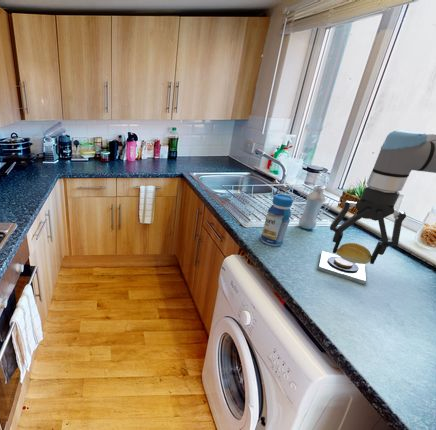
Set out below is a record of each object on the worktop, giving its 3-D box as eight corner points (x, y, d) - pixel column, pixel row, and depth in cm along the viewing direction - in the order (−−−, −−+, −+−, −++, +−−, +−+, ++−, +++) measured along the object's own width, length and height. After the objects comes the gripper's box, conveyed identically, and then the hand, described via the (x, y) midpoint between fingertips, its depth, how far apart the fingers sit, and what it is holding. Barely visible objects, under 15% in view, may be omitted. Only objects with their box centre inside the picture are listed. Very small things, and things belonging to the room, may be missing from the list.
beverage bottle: (285, 247, 115) (300, 201, 107) (263, 245, 116) (276, 199, 108) (278, 237, 123) (291, 193, 114) (257, 235, 124) (268, 192, 115)
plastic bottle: (300, 223, 136) (313, 183, 127) (316, 228, 131) (331, 187, 122) (294, 227, 132) (308, 186, 123) (311, 232, 127) (326, 190, 119)
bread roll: (332, 256, 90) (336, 245, 88) (341, 247, 95) (346, 237, 93) (364, 269, 84) (370, 257, 82) (372, 258, 89) (378, 247, 87)
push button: (363, 266, 104) (366, 260, 103) (364, 284, 94) (367, 277, 93) (320, 254, 111) (323, 247, 110) (317, 269, 101) (320, 263, 100)
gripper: (433, 193, 77) (396, 263, 86) (336, 177, 88) (313, 240, 98) (439, 201, 71) (399, 275, 81) (335, 183, 83) (311, 249, 92)
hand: (352, 256), depth 89 cm, fingers closed on bread roll, 9 cm apart
